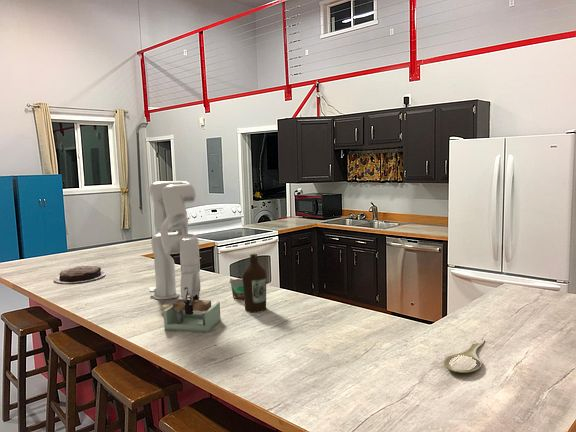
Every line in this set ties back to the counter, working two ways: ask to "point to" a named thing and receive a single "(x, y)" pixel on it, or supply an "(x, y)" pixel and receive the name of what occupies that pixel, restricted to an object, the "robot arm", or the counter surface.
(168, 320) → the frame
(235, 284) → the food container
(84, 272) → the chocolate cake
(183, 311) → the tan rectangular bar
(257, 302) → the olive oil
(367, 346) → the counter surface
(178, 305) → the board
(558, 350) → the counter surface
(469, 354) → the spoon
